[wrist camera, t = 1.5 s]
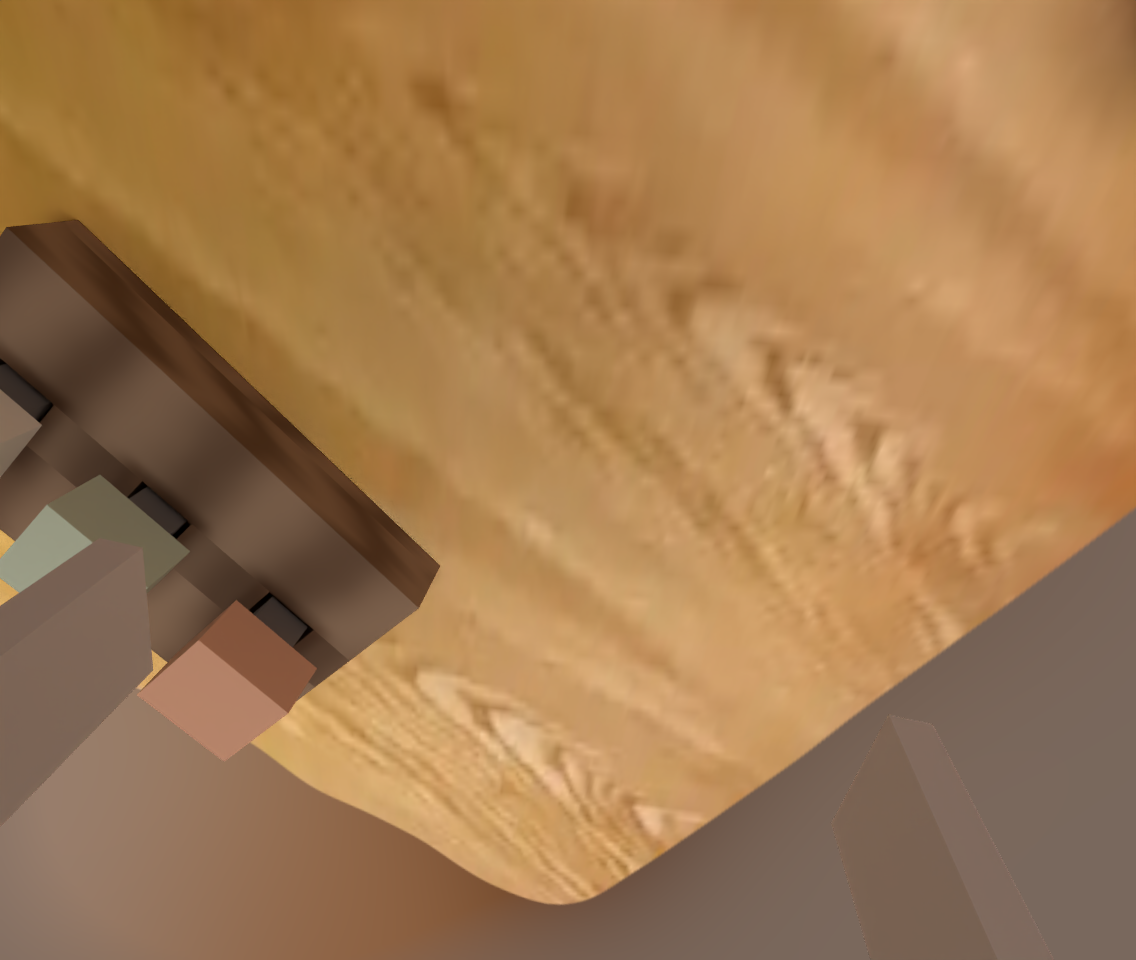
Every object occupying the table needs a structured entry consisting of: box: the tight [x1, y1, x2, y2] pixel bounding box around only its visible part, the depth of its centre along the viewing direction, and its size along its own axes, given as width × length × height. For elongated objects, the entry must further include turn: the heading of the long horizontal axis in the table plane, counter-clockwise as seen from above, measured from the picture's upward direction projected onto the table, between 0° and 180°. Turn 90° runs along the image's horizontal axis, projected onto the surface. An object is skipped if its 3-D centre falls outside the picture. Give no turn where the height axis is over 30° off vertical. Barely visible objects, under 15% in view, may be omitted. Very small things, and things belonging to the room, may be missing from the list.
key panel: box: [0, 220, 440, 701], centre depth 36 cm, size 24×14×4 cm, turn 42°
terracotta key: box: [137, 597, 317, 761], centre depth 34 cm, size 5×5×6 cm
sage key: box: [0, 475, 190, 593], centre depth 32 cm, size 5×5×6 cm
